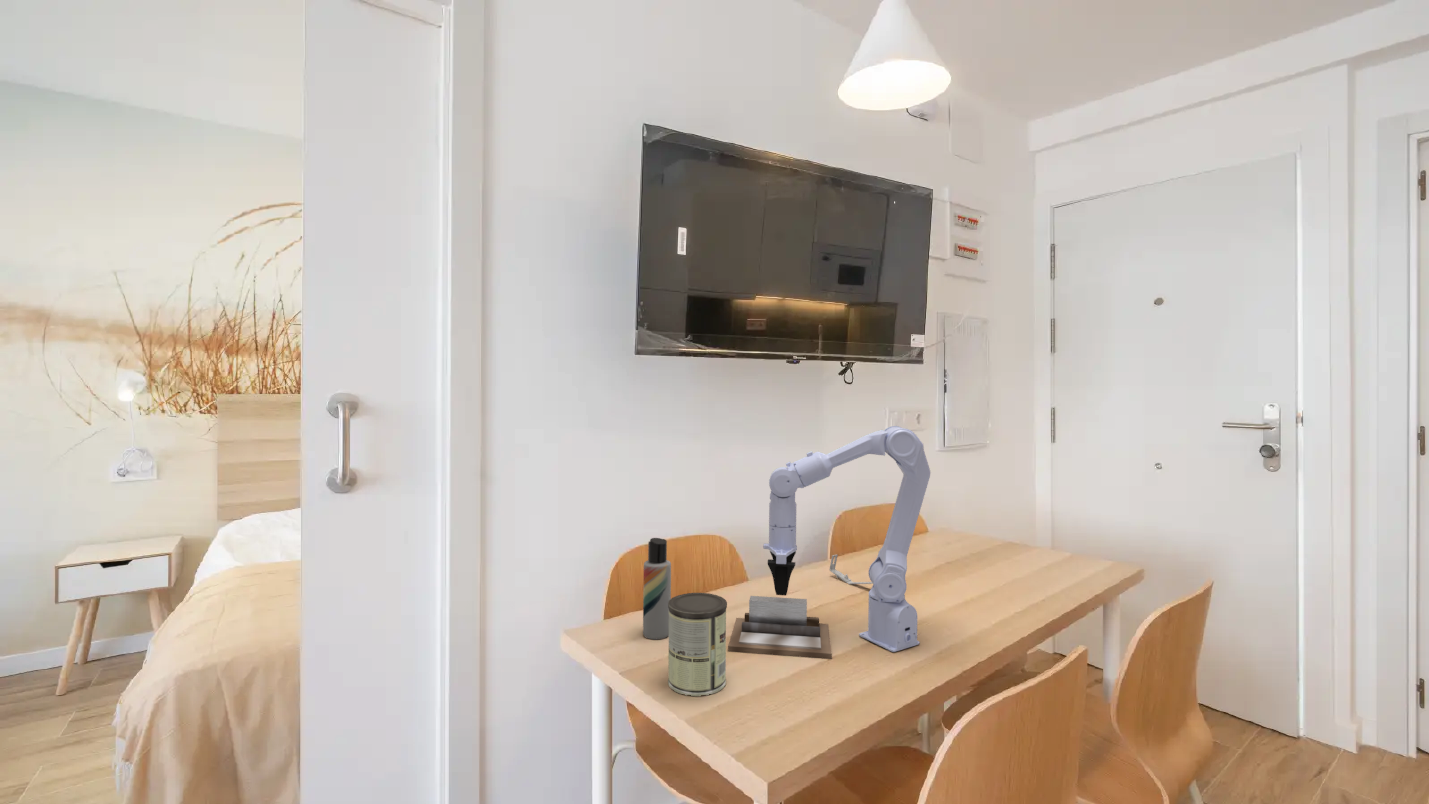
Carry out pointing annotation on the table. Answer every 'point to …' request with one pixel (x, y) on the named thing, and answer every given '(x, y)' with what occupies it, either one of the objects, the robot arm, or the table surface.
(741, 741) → the table surface
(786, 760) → the table surface
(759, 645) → the hinge base
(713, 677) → the coffee can
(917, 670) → the table surface
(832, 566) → the bracket
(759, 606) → the grey speckled stone slab
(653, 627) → the lotion bottle
